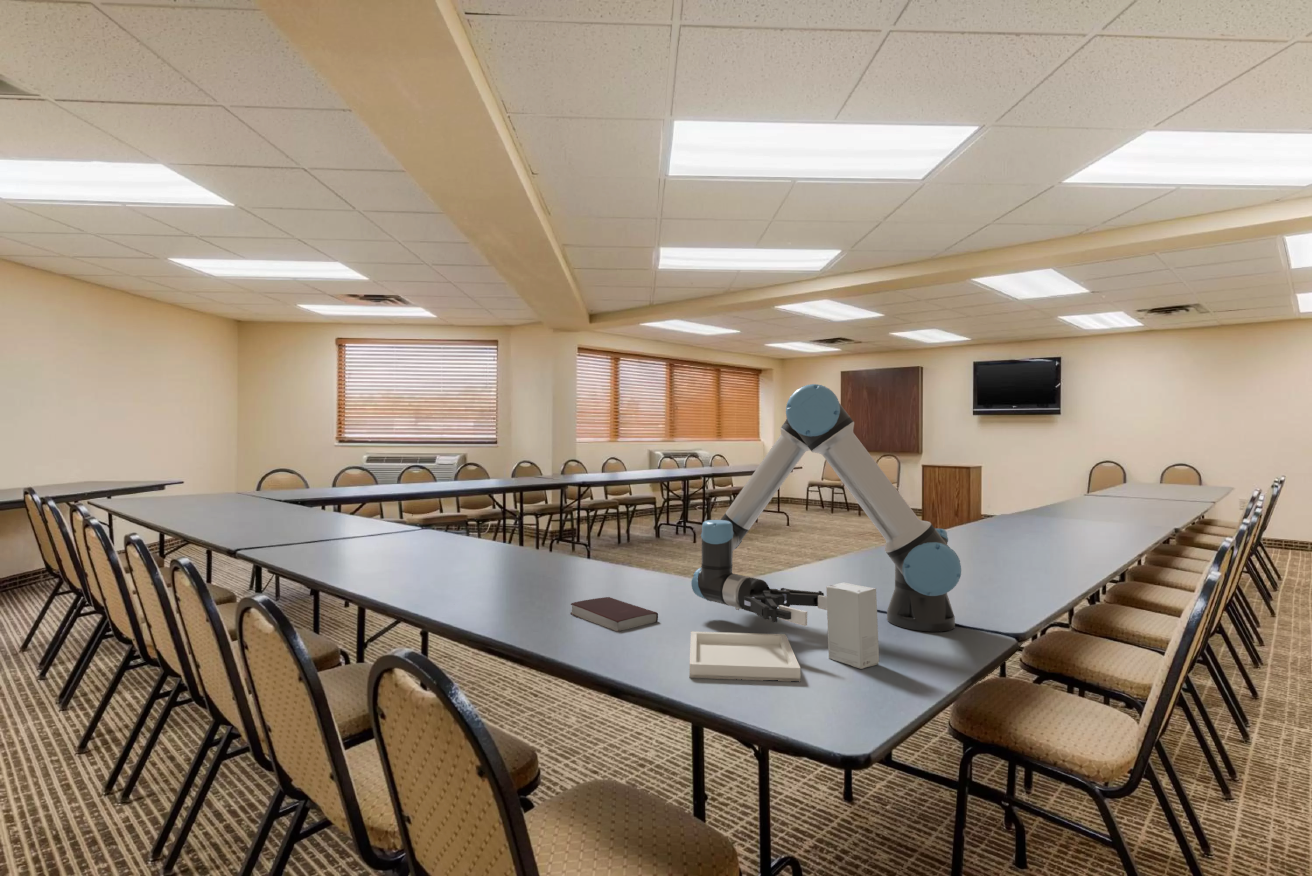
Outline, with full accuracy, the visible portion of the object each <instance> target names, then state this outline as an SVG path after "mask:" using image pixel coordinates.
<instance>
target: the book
mask: <svg viewBox="0 0 1312 876" xmlns="http://www.w3.org/2000/svg"><path fill="white" fill-rule="evenodd" d="M570 605H571V612H569V613H570V615H572V616H575V617H577V618H580V619H583V620H586V621H589V622H591V623H594V624H596V625H600V626H602V627H605V628H608V629H609V630H613V631H615V632H617V633H618V632H622V631H624V630H628V629H632V628H637V627H641V626H645V625H649V624H652V623H657V622H658V621H659V614H658V612H657V611H653V610H650V609H647V608H643V607H641V606H638V605H634V604H632V603H629V602H625V601H622V600H619V599H616V598H613V597H610V596H608V597H607V596H605V597H604V596H603V597H597V598H592V599H591V598H589V599H584V600H580V601H573V602H571V603H570Z"/></svg>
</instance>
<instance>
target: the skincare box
mask: <svg viewBox="0 0 1312 876" xmlns="http://www.w3.org/2000/svg"><path fill="white" fill-rule="evenodd" d="M826 597H827V610H826V611H827V613H826V615H827V642H828V645H827V646H828V647H827V648H828V659H829V660H833V661H836V662H839V663H841V664H846V665H848V666H852V667H854V668H857V669H860V670H862V669H866V668H869V667H874V666H877V665H879V663H880V658H879V657H880V656H879V655H880V653H879V652H880V651H879V650H880V649H879V627H878V626H879V625H878V622H879V621H878V603H877V601H878V599H877V588H875V587H869V586H865V585H864V586H863V585H859V584H853V583H849V582H840V583H839V582H838V583H835V584H830V585H827V586H826Z"/></svg>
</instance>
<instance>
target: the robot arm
mask: <svg viewBox="0 0 1312 876" xmlns="http://www.w3.org/2000/svg"><path fill="white" fill-rule="evenodd" d="M785 414H786V415H785V416H786V419H785V421H784V423H783V424H782V425H781V427H780V428H779V429H780V435H779V437H778V438H777V440H776V441H775V442H774V444H773V445H772V446H771V448H770V449H769V450H768V452H767V453H766V455H765V456H764V458H763V459H762V461H761V462H760V463H759V465H758V466H757V468H756V469H755V471H754V472H753V473H752V475H751V476H750V477H749V479H748V481H746V483H745V485H744V486H743V488H742V489H741V490H740V491H739V493H738V494H737V496H736V497H735V499H734V500H733V501H732V503H731V504H730V506H729V507H728V509H726V512H725V513H723V516H722V517H721V519H708V520H705V521H703V522H702V525H701V534H700V538H701V567H698V568H697V569H696V570H695V571H694V573H693V577H692V578H691V581H690V582H691V589H692V592H693V593H694V594H695V595H696V596H697V597H699V598H702V599H704V600H706V601H708V602H714V603H718V604H722V605H726V606H729V607H733V608H735V610H737V611H739V610H740V609H741V610H744V611H747V612H751V613H754V614H756V615H757V616H758V617H760V618H761V619H763V620H771V621H770V622H771V623H777V622H778V620H780V621H785V622H789V623H791V624H792V623H793V624H797V625H800V626H804V627H806V626H808V611H806V610H803V609H799V608H795V607H791V606H800V607H801V606H802V607H803V606H805V607H817V608H818V609H822V610H825V611H827V595H826V596H825V594H824V592H823V591H821V590H818V591H809V590H808V591H807V590H799V589H798V590H797V589H790V588H784V587H780V589H778V588H770V587H769V584H768V583H767V582H766V581H765V580H763V579H759V578H755V577H750V576H748V575H742V574H738V573H733V555H734V553H733V552H734V551H735V550H737V548H738V547H739V546H740V545H741V544H742V540H743V539H744V538H745V536H746V535H747V534H748V532H749V530H750V529H751V528H752V526H754V524H755V522H756V521H757V520H758V518H759V516H760V515H761V514H762V513H763V511H765V508H766V507H767V506H768V505H769V503H770V502H771V500H772V499H773V498H774V497H775V495H776V493H777V492H778V490H779V489H780V488H781V487H782V485H783V484H784V482H785V481H786V479H787V478H788V477H789V475H790V474H791V473H792V471H793V470H794V468H795V467H796V466H797V464H798V463H799V462H800V461H801V459H802V458H803V456H804V455H805V453H806V452H808V451H811V452H812V453H815V454H819V455H822V457H823V458H824V460H825V461H826V462H827V463H828V465H829V467H830V468H831V469H832V470H833V472H834V473H835V474H836V476H838V478H839V480H840V481H841V482H842V483H843V485H844V487H846V489H847V490H848V491H849V493H850V494H851V495H852V497H853V498H854V500H855V501H856V502H857V504H858V505H859V507H860V508H861V509H862V511H863V512H864V513H865V515H866V516H867V517H868V519H869V520H870V521H871V523H872V524H873V525H874V527H875V528H876V529H877V530H878V532H879V533H880V534H881V536H882V537H883V538H884V540H885V547H884V552H885V553H886V554H887V555H888V557H889V558H890V560H891V561H892V562H893V563H894V590H893V592H892V596H891V599H890V601H889V604H888V606H887V609H886V621H888V623H890V624H892V625H894V626H898V627H900V628H902V629H903V628H904V629H907V630H912V631H918V632H919V631H921V632H922V631H923V632H947V631H951V630H953V629H955V628H956V627H955V626H956V616H955V613H954V610H953V608H952V604H951V602H950V598H949V595H948V593H949V592H950V591H952V590H953V589H955V588H956V586H957V584H958V583H959V581H960V579H961V575H962V564H961V560H960V558H959V555H958V554H957V553H956V551H954V549H952V548H951V547H950V546H949V544H948V542H949V537H948V532H947V530H946V529H945V528H935V527H934V525H933V523H931V521H927V520H921V519H920V518H918V516H917V514H916V513H915V511H914V510H913V509H912V508H911V507H910V505H909V504H908V502H907V501H906V500H905V499H904V497H903V496H902V495H901V493H900V492H899V491H898V490H897V488H896V487H895V485H894V484H893V482H891V480H890V479H889V477H888V476H887V475H886V473H885V472H884V471H883V470H882V469H881V468H882V467H880V466H879V464H878V463H877V462H876V460H875V459H874V458H873V456H872V455H871V453H869V451H868V449H866V447H865V446H864V444H862V442H861V441H860V439H859V438H858V437H857V436H856V434H855V433H854V428H855V421H854V420H853V419H852V417H851V416H850V415H849V414H848V412H847V411H846V409H844V407H843V406H842V404H841V403H840V401H839V398H838V396H837V395H836V394H835V393H834V391H833V390H831V389H830V388H828V387H826V386H825V385H822V384H816V383H812V384H806V385H804V386H801V387H800V388H798V389H796V390H794V392H793V393H792V394H791V395H790V397H789V399H788V400H787V402H786V407H785ZM770 618H771V619H770Z"/></svg>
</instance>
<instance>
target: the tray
mask: <svg viewBox="0 0 1312 876" xmlns="http://www.w3.org/2000/svg"><path fill="white" fill-rule="evenodd" d="M689 648H690V649H689V675H688V676H689V679H713V680H714V679H715V680H736V679H737V680H741V679H742V681H763V680H778V681H777V682H791V681H799V682H798V683H800V682H801V665H800V664H799V662H798V660H797V657H796V655H795V653H794V651H793V648H792V646H791V644H790V641H789V639H788V637H787V635H786V633H785V634H784V633H751V632H750V633H748V632H719V631H718V632H717V631H715V632H714V631H690V646H689Z"/></svg>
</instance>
